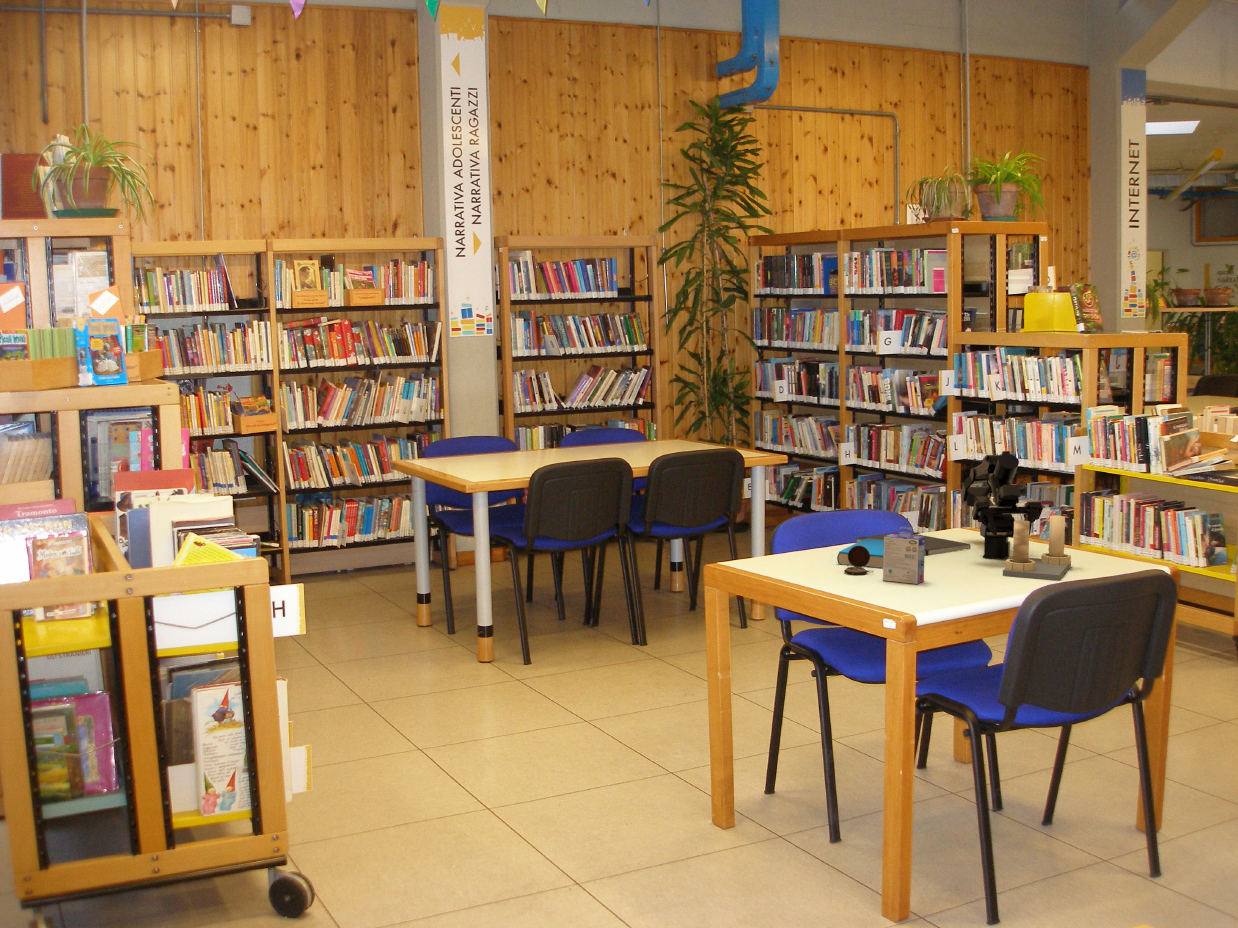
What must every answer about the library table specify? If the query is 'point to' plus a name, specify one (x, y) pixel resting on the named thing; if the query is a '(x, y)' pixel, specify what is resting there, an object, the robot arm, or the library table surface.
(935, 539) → the notebook
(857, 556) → the compass
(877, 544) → the book
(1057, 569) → the board
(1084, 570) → the library table surface
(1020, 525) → the pin
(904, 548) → the ink cartridge box
